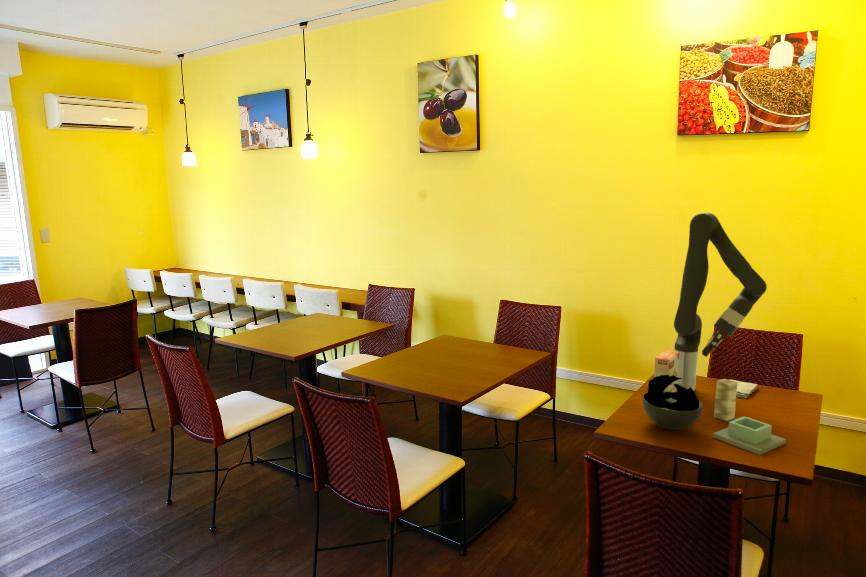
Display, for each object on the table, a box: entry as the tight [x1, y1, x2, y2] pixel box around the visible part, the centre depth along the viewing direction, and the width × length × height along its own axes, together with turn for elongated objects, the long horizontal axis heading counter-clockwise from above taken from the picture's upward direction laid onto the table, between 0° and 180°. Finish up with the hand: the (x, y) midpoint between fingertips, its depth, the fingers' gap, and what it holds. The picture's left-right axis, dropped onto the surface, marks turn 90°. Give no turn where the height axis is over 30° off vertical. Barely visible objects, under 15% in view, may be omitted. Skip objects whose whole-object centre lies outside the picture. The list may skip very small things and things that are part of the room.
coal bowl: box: [641, 375, 704, 431], centre depth 204 cm, size 20×20×19 cm
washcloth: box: [729, 379, 759, 399], centre depth 243 cm, size 12×18×3 cm, turn 139°
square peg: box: [713, 378, 737, 422], centre depth 213 cm, size 5×5×14 cm
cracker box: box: [653, 349, 680, 392], centre depth 225 cm, size 14×6×21 cm, turn 143°
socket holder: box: [712, 416, 787, 456], centre depth 194 cm, size 16×16×6 cm
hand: (703, 354), depth 229 cm, fingers open, 8 cm apart
